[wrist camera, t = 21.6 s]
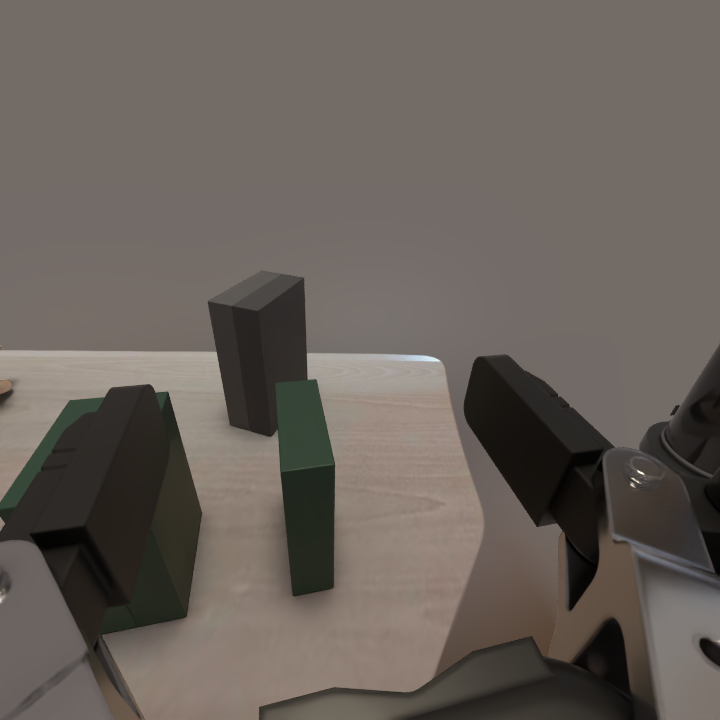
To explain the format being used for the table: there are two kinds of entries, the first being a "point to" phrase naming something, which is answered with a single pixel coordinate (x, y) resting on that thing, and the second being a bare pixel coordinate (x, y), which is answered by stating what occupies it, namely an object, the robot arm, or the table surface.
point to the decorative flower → (4, 385)
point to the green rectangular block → (167, 534)
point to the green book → (306, 485)
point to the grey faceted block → (259, 345)
